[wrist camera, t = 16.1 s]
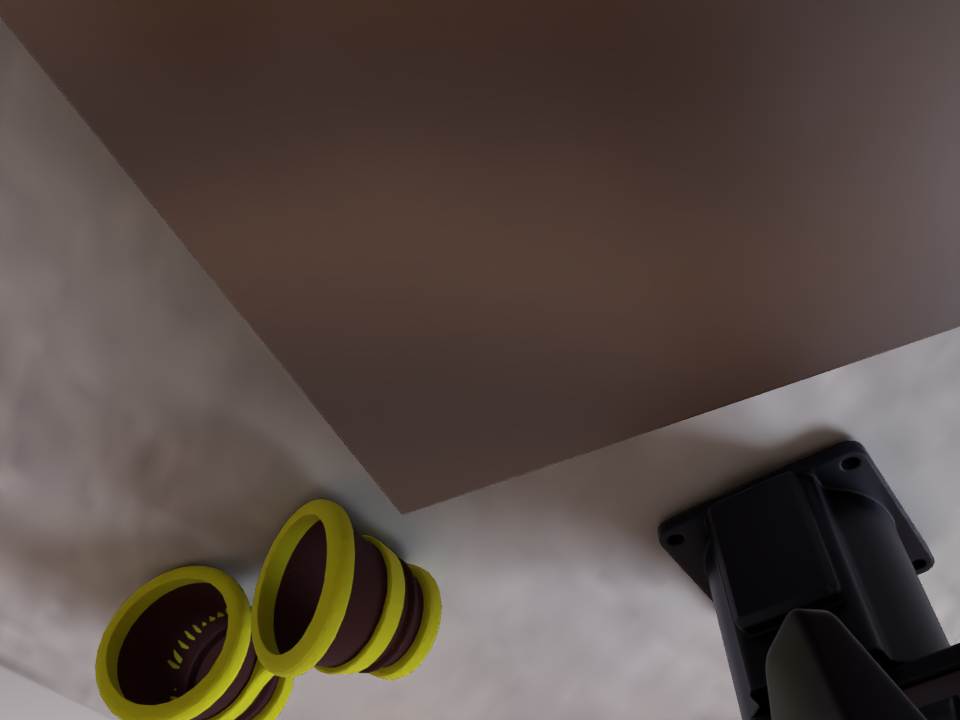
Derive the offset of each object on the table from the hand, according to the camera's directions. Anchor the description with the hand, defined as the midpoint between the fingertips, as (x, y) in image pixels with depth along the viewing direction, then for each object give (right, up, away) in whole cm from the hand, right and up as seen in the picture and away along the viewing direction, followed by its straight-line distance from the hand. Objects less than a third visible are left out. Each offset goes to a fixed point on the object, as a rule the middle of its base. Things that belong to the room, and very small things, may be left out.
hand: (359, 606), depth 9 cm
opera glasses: (-5, -4, +20) cm, 21 cm away
